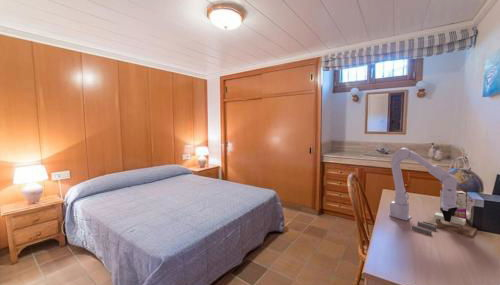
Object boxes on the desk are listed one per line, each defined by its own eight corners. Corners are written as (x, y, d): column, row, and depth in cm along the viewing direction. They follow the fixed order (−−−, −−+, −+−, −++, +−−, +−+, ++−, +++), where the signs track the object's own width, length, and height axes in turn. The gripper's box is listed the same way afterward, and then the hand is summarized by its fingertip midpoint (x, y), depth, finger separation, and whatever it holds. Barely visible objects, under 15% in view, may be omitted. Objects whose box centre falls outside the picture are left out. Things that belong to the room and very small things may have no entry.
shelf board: (465, 222, 112) (465, 219, 112) (463, 225, 109) (463, 221, 109) (436, 215, 122) (436, 212, 122) (434, 217, 119) (434, 214, 119)
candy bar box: (462, 216, 128) (462, 190, 127) (466, 220, 123) (467, 193, 122) (439, 214, 132) (439, 189, 131) (443, 217, 128) (443, 191, 127)
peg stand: (422, 223, 121) (423, 218, 121) (429, 218, 127) (429, 213, 127) (472, 237, 105) (472, 231, 105) (476, 230, 111) (476, 225, 111)
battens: (412, 229, 115) (412, 226, 115) (418, 224, 120) (418, 221, 120) (430, 235, 108) (430, 231, 108) (436, 229, 114) (436, 226, 113)
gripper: (455, 201, 108) (455, 226, 109) (462, 195, 116) (462, 218, 117) (437, 197, 114) (437, 221, 114) (445, 192, 122) (445, 214, 122)
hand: (448, 220), depth 116 cm, fingers closed on shelf board, 5 cm apart
